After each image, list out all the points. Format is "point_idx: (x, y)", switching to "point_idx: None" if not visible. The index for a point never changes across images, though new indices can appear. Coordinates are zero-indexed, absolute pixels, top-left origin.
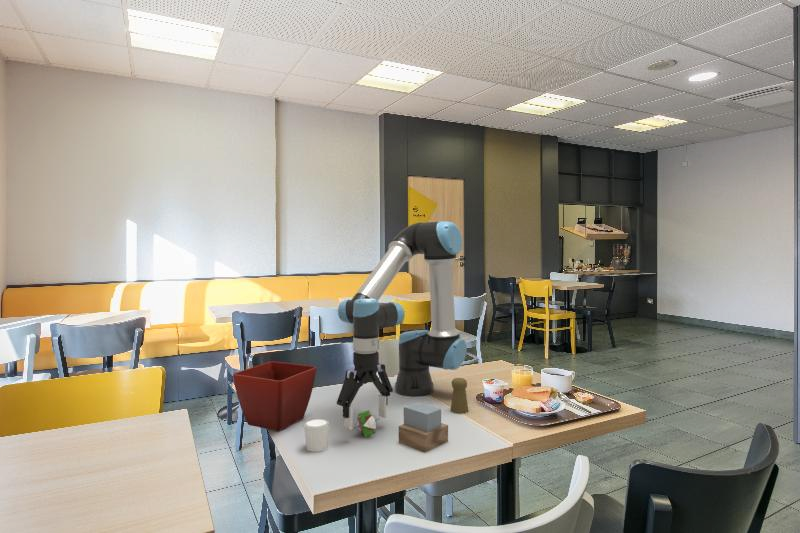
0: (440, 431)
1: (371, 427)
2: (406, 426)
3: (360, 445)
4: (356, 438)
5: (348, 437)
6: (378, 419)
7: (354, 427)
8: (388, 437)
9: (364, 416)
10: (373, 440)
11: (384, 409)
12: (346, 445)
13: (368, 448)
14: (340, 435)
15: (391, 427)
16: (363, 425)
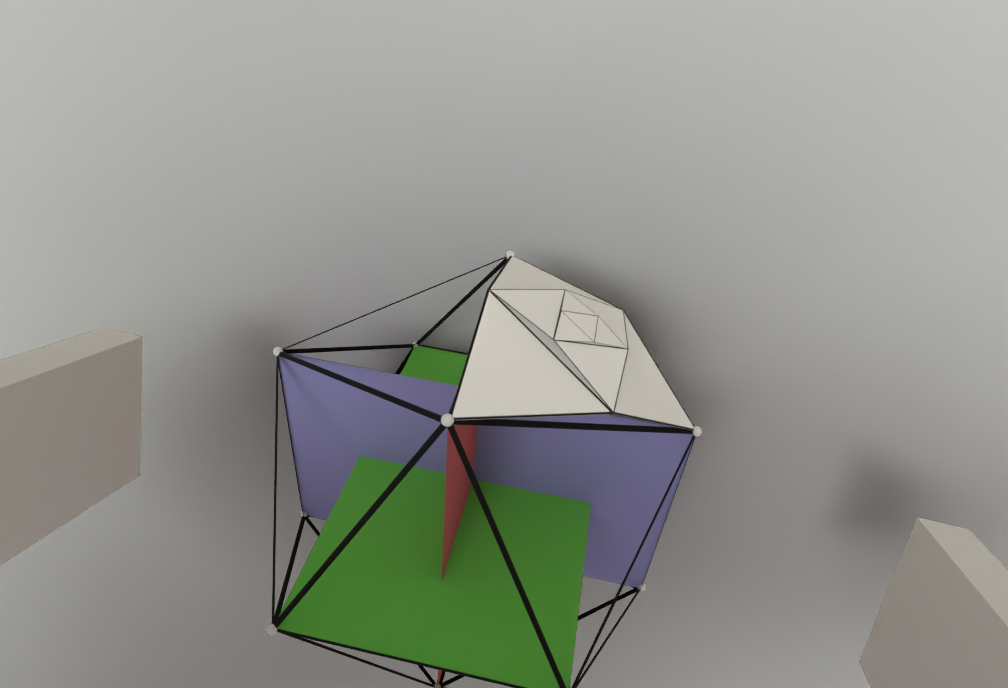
0: None
1: (593, 301)
2: None
3: (898, 257)
4: (703, 446)
5: (726, 551)
6: (280, 369)
7: (642, 583)
8: (435, 77)
9: (454, 586)
10: (643, 203)
11: (9, 389)
12: (988, 428)
13: (950, 80)
14: (720, 665)
15: (142, 260)
16: (689, 428)
